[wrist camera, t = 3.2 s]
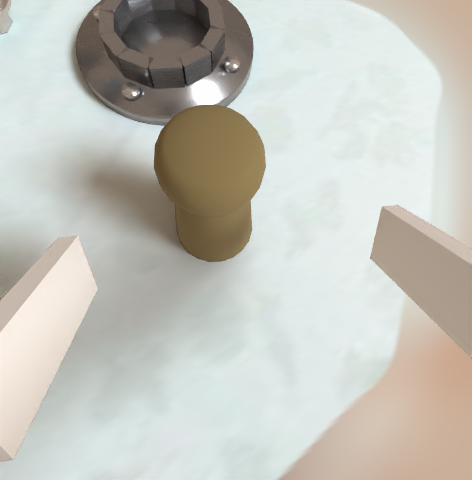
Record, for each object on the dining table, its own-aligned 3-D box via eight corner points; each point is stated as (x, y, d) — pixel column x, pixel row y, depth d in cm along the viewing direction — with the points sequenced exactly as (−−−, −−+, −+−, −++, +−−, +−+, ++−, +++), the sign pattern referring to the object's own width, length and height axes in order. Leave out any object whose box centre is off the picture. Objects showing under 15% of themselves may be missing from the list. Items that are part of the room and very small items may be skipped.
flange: (47, 85, 24) (23, 52, 21) (134, -26, 29) (124, -67, 26) (211, 151, 24) (209, 126, 21) (275, 26, 28) (282, -10, 25)
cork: (229, 179, 23) (237, 62, 12) (265, 239, 22) (309, 167, 11) (163, 210, 22) (111, 112, 11) (198, 275, 21) (174, 234, 10)
